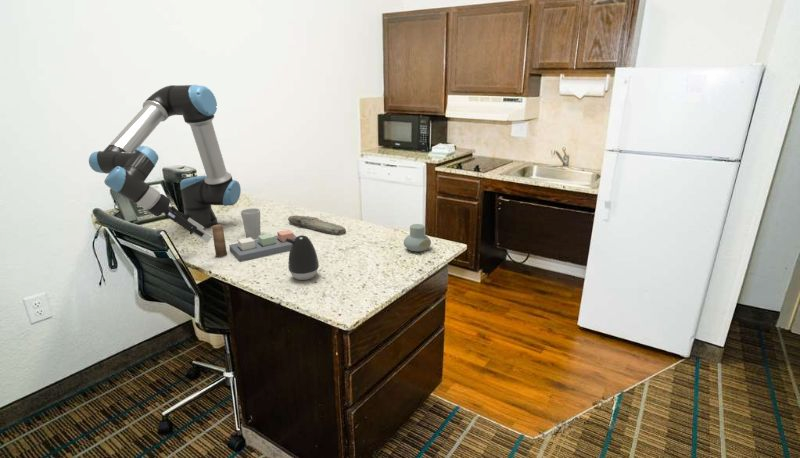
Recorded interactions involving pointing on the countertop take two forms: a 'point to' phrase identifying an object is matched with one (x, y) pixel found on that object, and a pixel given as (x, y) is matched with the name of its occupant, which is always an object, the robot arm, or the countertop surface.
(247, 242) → the key near
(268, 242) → the key mid
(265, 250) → the keypad
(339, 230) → the long grey stone
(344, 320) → the countertop surface
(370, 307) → the countertop surface
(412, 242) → the air freshener
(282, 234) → the key far
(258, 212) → the cup
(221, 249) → the wooden pepper mill
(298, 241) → the black rounded cone
